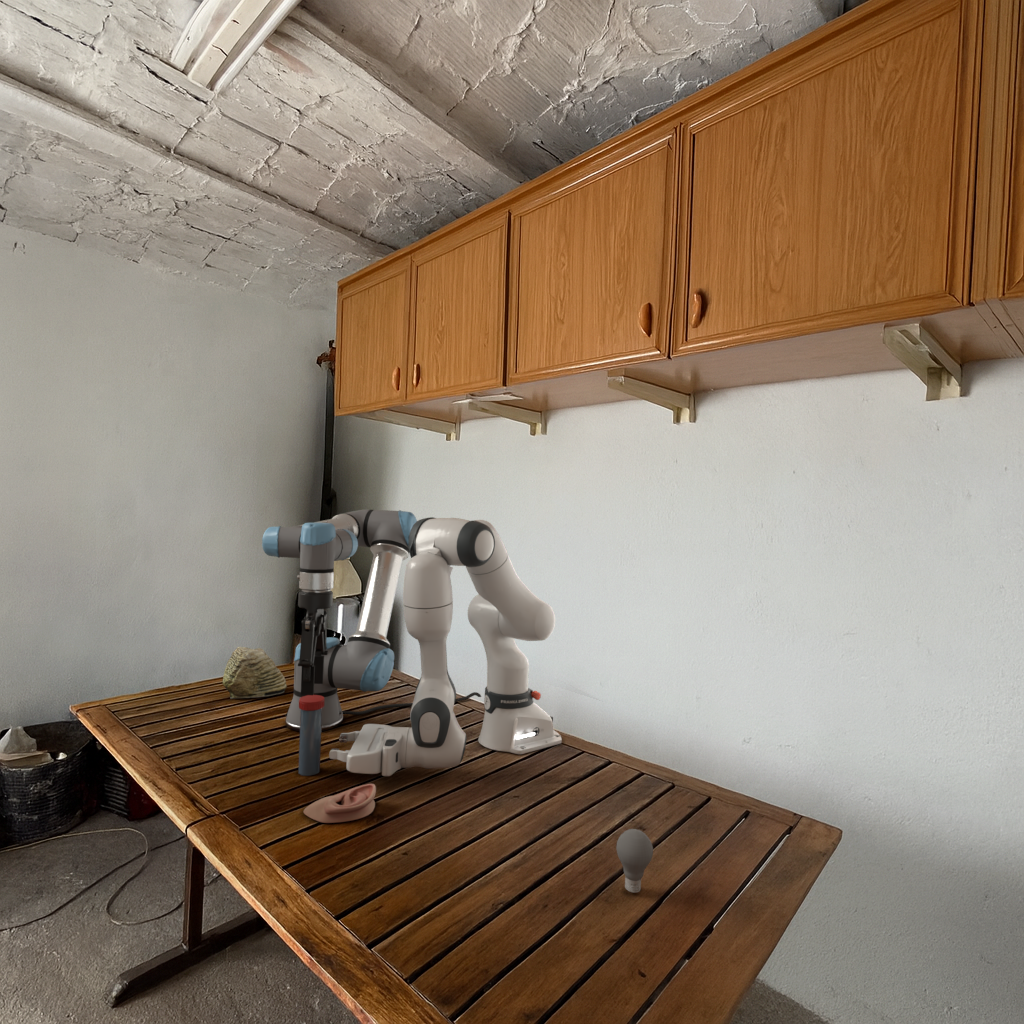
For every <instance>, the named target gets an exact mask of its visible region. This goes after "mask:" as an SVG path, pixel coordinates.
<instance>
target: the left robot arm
mask: <svg viewBox="0 0 1024 1024" xmlns="http://www.w3.org/2000/svg"><path fill="white" fill-rule="evenodd" d="M417 521H418V519H417V516H416V515H415V513H413V512H411V511H406V510H400V509H399V510H390V509H389V510H386V509H371V508H369V509H367V508H366V509H365V508H364V509H358V510H353V511H347V512H344V513H339V514H336V515H334V516H332V518H330V519H329V518H328V519H325V520H319V521H314V522H304V523H303V524H298V525H291V526H281V525H279V526H269V527H268V528H266V530H265V531H264V533H263V535H262V539H261V543H262V544H261V546H262V550H263V552H264V554H266V555H267V556H268V557H275V558H287V559H288V558H291V559H299V574H297V575H296V579H297V580H299V581H298V588H299V589H300V590H299V592H298V599H297V601H298V602H297V606H298V607H299V608H300V609H304V610H306V615H304V618H303V619H302V620H301V635H300V636H301V637H300V642H299V643H298V644H297V645H296V647H295V652H294V653H295V654H294V659H293V661H294V672H293V695H292V696H293V697H292V699H291V702H290V704H289V708H288V710H287V712H286V713H285V716H284V718H285V726H286V728H287V729H289V730H291V731H294V732H295V731H296V732H300V714H301V709H300V708H299V699H300V698H301V697H303V696H307V695H320V696H323V697H324V700H325V701H324V707H323V708H322V728H321V732H325V731H329V730H332V729H335V728H337V727H339V726H340V725H342V723H343V722H344V715H345V716H347V715H351V716H363V715H367V714H369V713H372V712H375V711H379V710H384V709H393V708H405V707H406V708H407V707H412V704H413V702H403V703H392V704H391V703H390V704H385V705H377V706H374V707H371V708H368V709H365V710H360V711H354V710H343V709H342V706H341V702H340V699H339V695H338V689H342V690H351V691H353V690H354V691H362V692H365V693H366V692H379V691H381V690H383V689H384V688H385V686H386V685H387V684H388V683H389V681H390V678H391V677H392V676H391V675H392V673H393V671H394V666H395V662H394V661H395V652H394V651H393V650H392V649H391V643H390V641H389V639H387V636H388V631H389V626H390V621H391V616H392V612H393V607H394V603H395V599H396V593H397V589H398V583H399V578H400V575H401V569H402V565H403V562H404V561H405V560H407V559H408V558H409V557H410V553H409V545H408V542H409V534H410V531H411V529H412V527H413V525H414V524H415V523H416V522H417ZM358 547H363V548H369V550H370V552H371V554H372V555H373V557H372V562H371V566H370V570H369V574H368V578H367V583H366V587H365V592H364V596H363V600H362V603H361V609H360V613H359V615H358V616H359V617H358V621H357V625H356V629H355V632H354V633H353V634H351V635H350V636H348V640H347V643H346V644H340V643H341V641H340V639H339V638H338V637H334V636H331V637H330V636H329V637H327V633H328V632H327V619H328V610H327V609H330V608H332V607H333V604H334V603H333V600H334V593H333V591H332V590H333V589H334V585H335V584H334V579H335V562H337V561H345V560H347V559H349V558H351V557H353V556H354V555H355V554H356V552H357V551H358ZM474 696H476V697H477V698H481V697H482V695H481V693H479V692H476V691H474V692H471V693H469V694H467V695H466V696H462V697H456V700H455V703H457V702H458V703H459V702H462V701H466V700H469V699H470V698H472V697H474Z"/></svg>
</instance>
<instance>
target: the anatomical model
mask: <svg viewBox="0 0 1024 1024" xmlns="http://www.w3.org/2000/svg"><path fill="white" fill-rule="evenodd" d="M376 793H377V785H376V784H374V783H365V784H362V785H359V786H355V787H353V788H349V789H347V790H345V791H341V792H340V793H337V794H334V795H329V796H326V797H322V798H320V799H318V800H316V801H314V802H312V803H311V804H309V805H308V806H306V807H305V808H304V809H303V810H302V811H303V814H304V815H305V816H307V817H308V818H309V819H311V820H313V821H316V822H318V823H324V824H332V823H333V824H335V823H345V822H350V821H351V822H352V821H355V820H356V821H357V820H359V819H363V818H365V817H368V816H369V815H371V814H372V813H373V812H374V810H375V808H376V802H375V800H374V799H375V796H376Z"/></svg>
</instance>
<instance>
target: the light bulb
mask: <svg viewBox="0 0 1024 1024" xmlns="http://www.w3.org/2000/svg"><path fill="white" fill-rule="evenodd" d="M615 849H616V854H617V857H618V859H619V861H620V863H621V865H622V867H623V873H624V874H623V875H624V876H625V878H624V888H625V890H627V891H628V892H630V893H634V894H635V893H639V892H640V891H641V889H642V887H641V886H642V879H643V877H644V875H645V871H646V868H647V867H648V866H649V864H650V863H651V861H652V859H653V855H654V847H653V843H652V841H651V838H649V836H648V835H647V834H646V833H645V832H643V831H642V830H641V829H636V828H629V829H627V830H625V831H623V832H622V833H621V834H620V835H619V837H618V839H617V841H616V847H615Z"/></svg>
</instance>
